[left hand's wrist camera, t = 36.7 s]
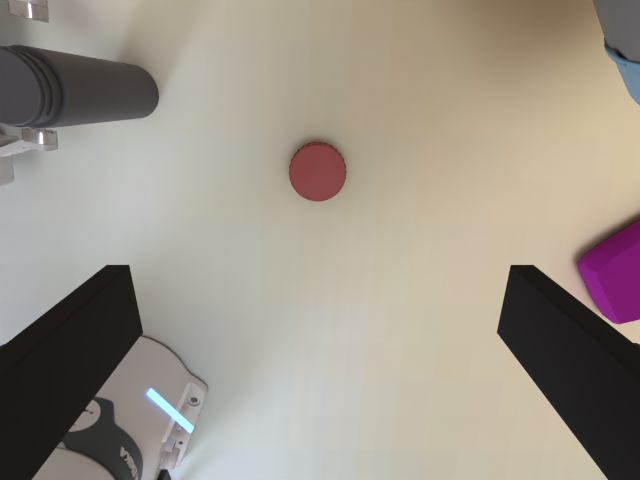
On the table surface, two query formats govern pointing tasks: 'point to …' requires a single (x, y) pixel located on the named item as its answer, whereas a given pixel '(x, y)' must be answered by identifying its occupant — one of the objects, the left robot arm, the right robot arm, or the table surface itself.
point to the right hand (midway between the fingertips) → (48, 79)
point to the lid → (317, 171)
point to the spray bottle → (615, 275)
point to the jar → (70, 89)
